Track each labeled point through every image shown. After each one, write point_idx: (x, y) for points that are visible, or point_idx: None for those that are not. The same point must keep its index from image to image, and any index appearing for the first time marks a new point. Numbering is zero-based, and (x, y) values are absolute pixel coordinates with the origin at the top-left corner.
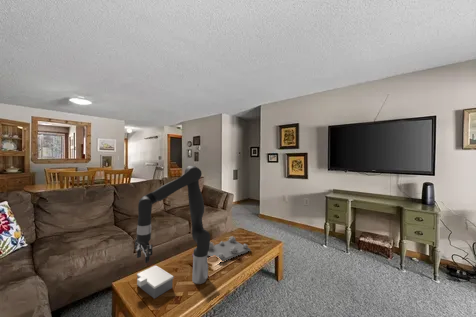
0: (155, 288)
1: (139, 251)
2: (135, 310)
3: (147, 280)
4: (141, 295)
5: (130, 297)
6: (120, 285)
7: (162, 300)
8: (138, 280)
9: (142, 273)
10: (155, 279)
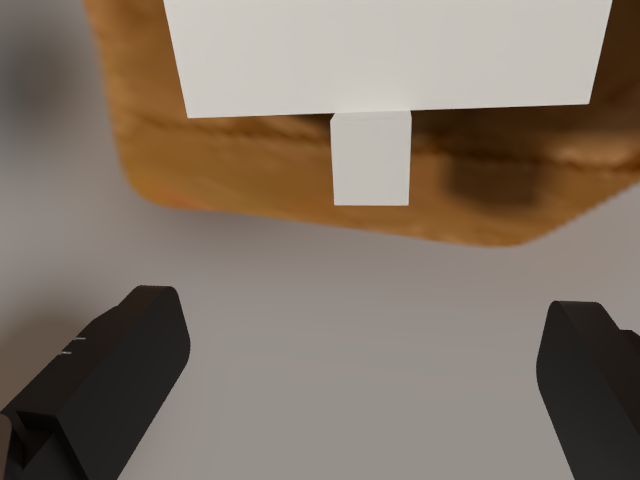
0: None
1: (83, 452)
2: (506, 239)
3: (399, 98)
4: None
5: None
6: (155, 181)
7: (630, 31)
8: (362, 203)
9: (217, 65)
10: (467, 8)
